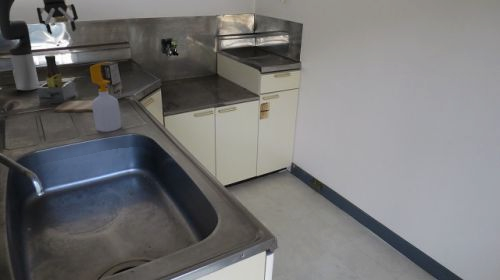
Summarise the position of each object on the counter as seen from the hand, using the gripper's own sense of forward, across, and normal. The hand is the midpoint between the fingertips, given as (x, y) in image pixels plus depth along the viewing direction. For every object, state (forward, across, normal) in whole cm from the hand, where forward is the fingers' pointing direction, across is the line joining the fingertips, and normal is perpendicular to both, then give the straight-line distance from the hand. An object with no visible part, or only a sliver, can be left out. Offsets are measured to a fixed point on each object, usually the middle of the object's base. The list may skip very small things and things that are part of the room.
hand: (62, 32), depth 155 cm
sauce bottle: (+28, +8, -18) cm, 35 cm away
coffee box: (+31, -14, -10) cm, 35 cm away
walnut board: (+31, +1, -2) cm, 31 cm away
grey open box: (+28, +9, -17) cm, 34 cm away
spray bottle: (+37, -5, +29) cm, 47 cm away
